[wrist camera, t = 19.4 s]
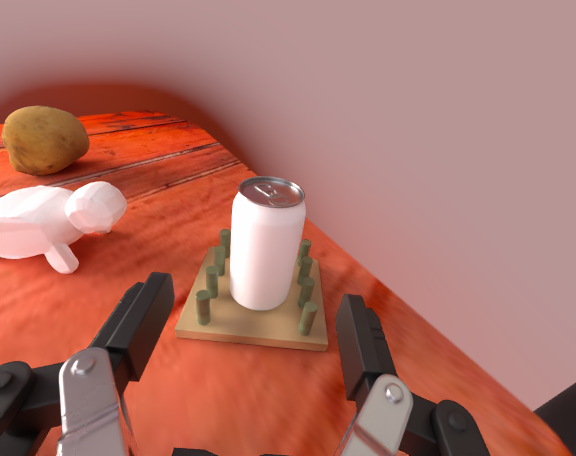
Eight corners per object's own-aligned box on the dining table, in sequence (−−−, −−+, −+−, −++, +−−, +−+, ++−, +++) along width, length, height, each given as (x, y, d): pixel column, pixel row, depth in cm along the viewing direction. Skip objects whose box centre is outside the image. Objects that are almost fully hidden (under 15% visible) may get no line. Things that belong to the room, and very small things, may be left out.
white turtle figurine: (0, 289, 29) (126, 262, 28) (-76, 227, 24) (70, 190, 23) (54, 241, 36) (157, 218, 35) (3, 186, 31) (119, 156, 30)
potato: (-6, 178, 41) (-40, 109, 36) (53, 152, 52) (33, 95, 46) (64, 186, 42) (42, 121, 37) (108, 159, 53) (95, 105, 47)
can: (247, 323, 25) (258, 216, 19) (219, 279, 29) (219, 179, 23) (300, 298, 29) (325, 200, 22) (268, 262, 33) (281, 170, 26)
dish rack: (316, 266, 35) (323, 238, 33) (325, 352, 25) (338, 321, 23) (209, 253, 34) (208, 223, 32) (175, 337, 24) (170, 303, 22)
